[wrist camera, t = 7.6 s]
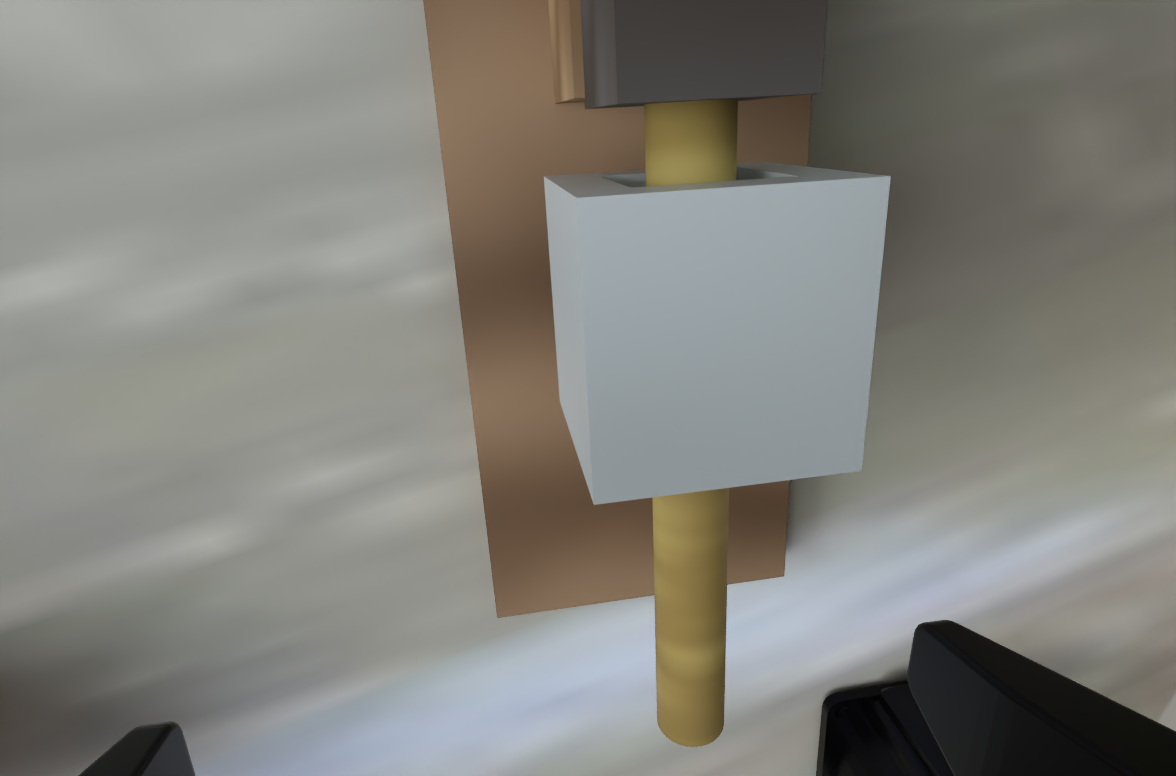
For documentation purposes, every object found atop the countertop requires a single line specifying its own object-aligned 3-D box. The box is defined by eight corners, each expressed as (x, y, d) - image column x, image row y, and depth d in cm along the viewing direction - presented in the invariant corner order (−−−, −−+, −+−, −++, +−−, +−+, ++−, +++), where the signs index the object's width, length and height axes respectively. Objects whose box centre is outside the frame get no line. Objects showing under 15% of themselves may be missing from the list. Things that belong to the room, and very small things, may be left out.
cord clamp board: (768, 554, 23) (899, 741, 16) (496, 592, 22) (508, 812, 15) (799, -85, 17) (1039, -239, 10) (416, -77, 16) (372, -247, 9)
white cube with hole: (757, 380, 17) (862, 470, 12) (559, 400, 16) (593, 504, 12) (766, 161, 15) (890, 176, 11) (543, 176, 14) (576, 197, 10)
